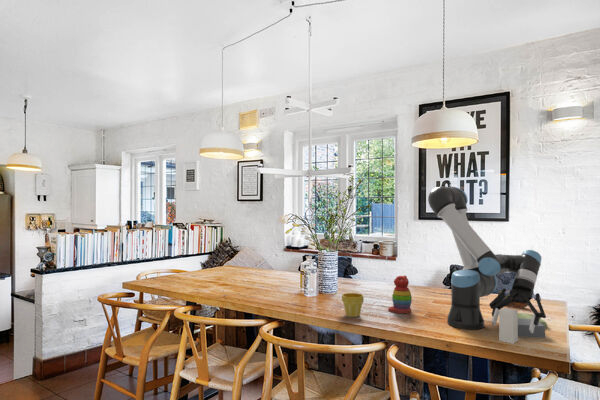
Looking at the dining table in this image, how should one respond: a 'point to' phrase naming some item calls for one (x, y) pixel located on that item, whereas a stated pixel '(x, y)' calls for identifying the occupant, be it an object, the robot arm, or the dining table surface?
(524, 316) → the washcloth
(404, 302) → the stacking bear
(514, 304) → the brown flat oval
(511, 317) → the cream block
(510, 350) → the dining table surface
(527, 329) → the charcoal base block
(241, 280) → the dining table surface
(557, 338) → the dining table surface
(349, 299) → the plant pot
